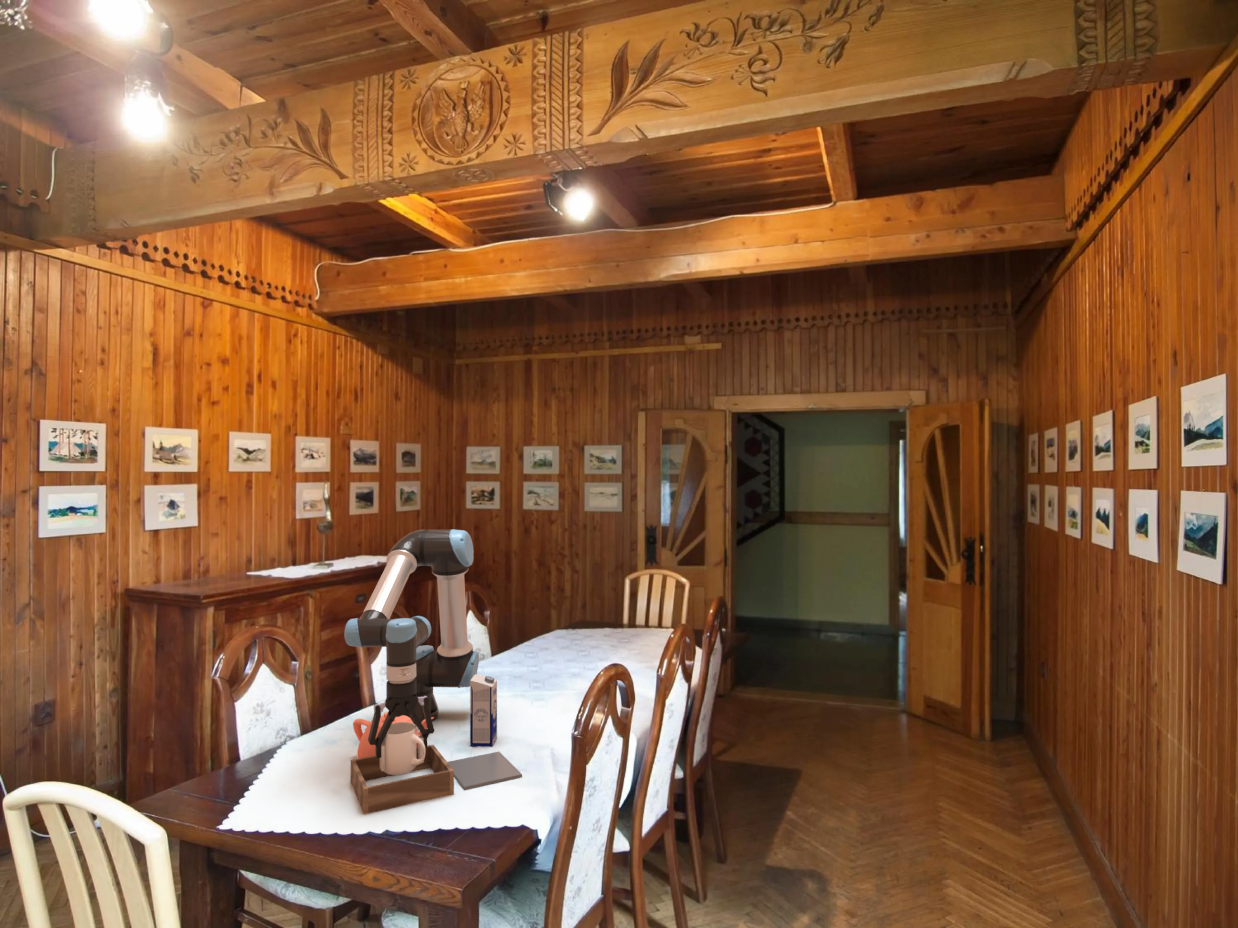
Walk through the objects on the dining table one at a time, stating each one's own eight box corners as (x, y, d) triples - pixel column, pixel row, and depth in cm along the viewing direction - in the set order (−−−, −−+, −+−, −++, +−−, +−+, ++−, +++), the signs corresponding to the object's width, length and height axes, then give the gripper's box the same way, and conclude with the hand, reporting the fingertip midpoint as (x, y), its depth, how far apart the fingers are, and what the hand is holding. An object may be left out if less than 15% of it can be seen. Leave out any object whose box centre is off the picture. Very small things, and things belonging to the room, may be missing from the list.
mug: (415, 779, 182) (415, 737, 182) (375, 773, 186) (375, 732, 186) (434, 765, 190) (433, 725, 190) (395, 759, 194) (394, 720, 194)
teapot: (446, 752, 211) (446, 706, 211) (419, 775, 195) (419, 726, 195) (368, 745, 216) (369, 700, 216) (336, 768, 200) (336, 719, 200)
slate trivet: (444, 764, 202) (444, 762, 202) (499, 753, 209) (499, 751, 209) (464, 789, 186) (464, 786, 186) (522, 776, 194) (522, 773, 194)
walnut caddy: (350, 782, 190) (350, 759, 190) (433, 765, 201) (433, 744, 201) (363, 814, 173) (363, 789, 173) (453, 793, 184) (453, 770, 184)
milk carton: (475, 737, 222) (475, 673, 222) (497, 737, 222) (497, 673, 222) (469, 746, 215) (470, 679, 215) (492, 746, 215) (492, 679, 215)
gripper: (360, 690, 179) (360, 779, 179) (447, 676, 189) (447, 761, 190) (355, 681, 185) (355, 768, 185) (439, 669, 196) (439, 751, 196)
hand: (401, 764), depth 187 cm, fingers closed on mug, 9 cm apart
